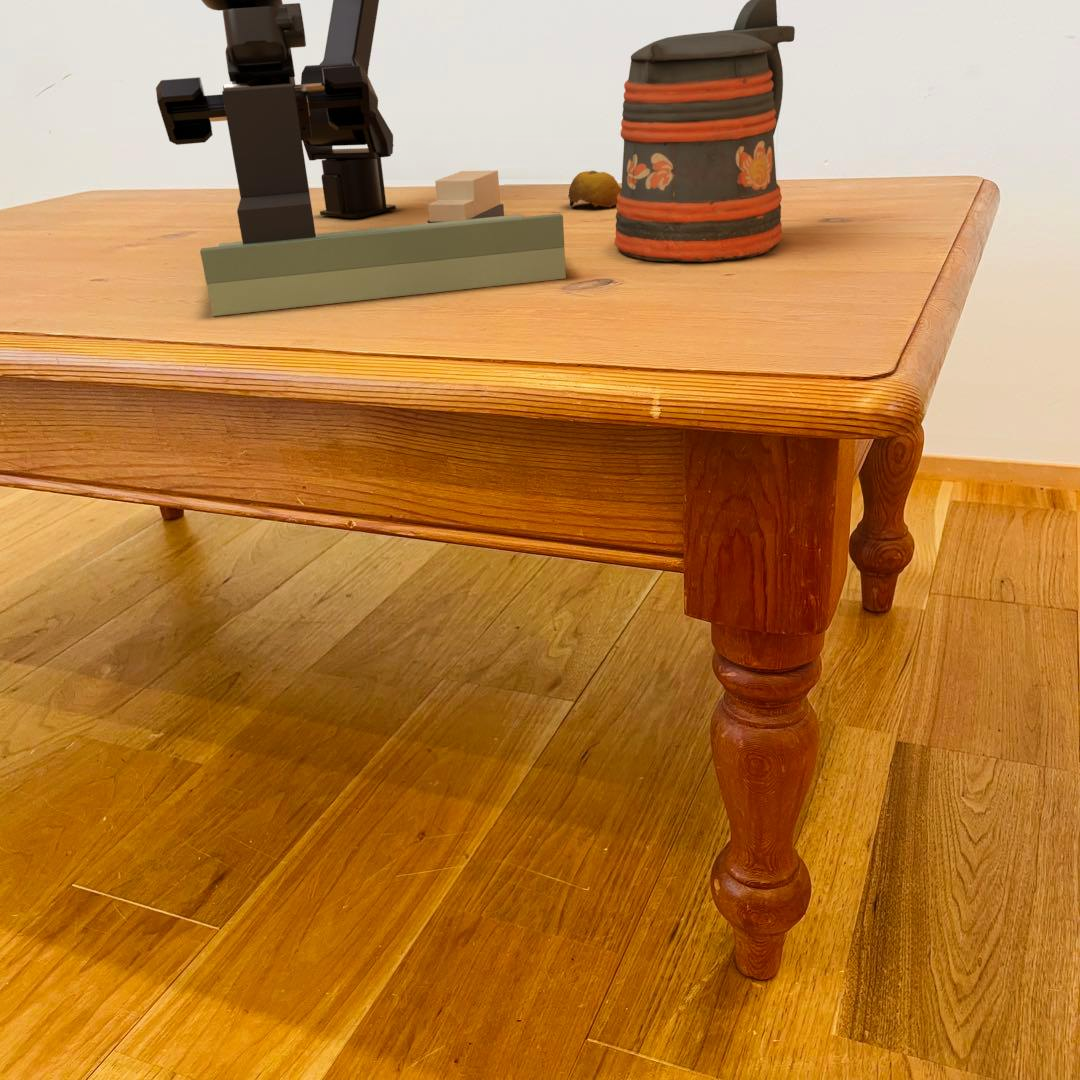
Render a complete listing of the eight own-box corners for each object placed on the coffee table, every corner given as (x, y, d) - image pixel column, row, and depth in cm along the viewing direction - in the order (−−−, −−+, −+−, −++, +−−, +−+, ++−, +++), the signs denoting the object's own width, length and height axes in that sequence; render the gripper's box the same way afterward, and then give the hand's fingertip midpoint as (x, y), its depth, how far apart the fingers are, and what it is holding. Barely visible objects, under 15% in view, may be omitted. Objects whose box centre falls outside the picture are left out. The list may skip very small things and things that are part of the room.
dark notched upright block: (253, 249, 94) (225, 88, 88) (316, 243, 95) (293, 83, 89) (248, 277, 83) (216, 95, 77) (320, 269, 84) (294, 89, 78)
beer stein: (698, 219, 108) (699, -3, 99) (833, 229, 99) (847, -14, 91) (582, 255, 95) (572, 3, 87) (726, 269, 87) (731, -8, 78)
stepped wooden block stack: (466, 218, 117) (461, 170, 115) (504, 218, 116) (501, 169, 114) (428, 235, 109) (423, 184, 107) (469, 235, 107) (465, 183, 105)
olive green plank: (224, 271, 99) (213, 215, 96) (522, 241, 103) (519, 186, 101) (212, 316, 83) (199, 250, 80) (566, 278, 87) (563, 215, 85)
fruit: (653, 200, 120) (653, 166, 119) (607, 212, 115) (606, 176, 113) (596, 196, 126) (595, 163, 124) (549, 208, 120) (547, 173, 119)
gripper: (134, -21, 92) (149, 126, 88) (352, -34, 96) (378, 107, 91) (163, 75, 103) (178, 211, 98) (358, 60, 106) (382, 191, 101)
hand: (277, 179), depth 97 cm, fingers closed
